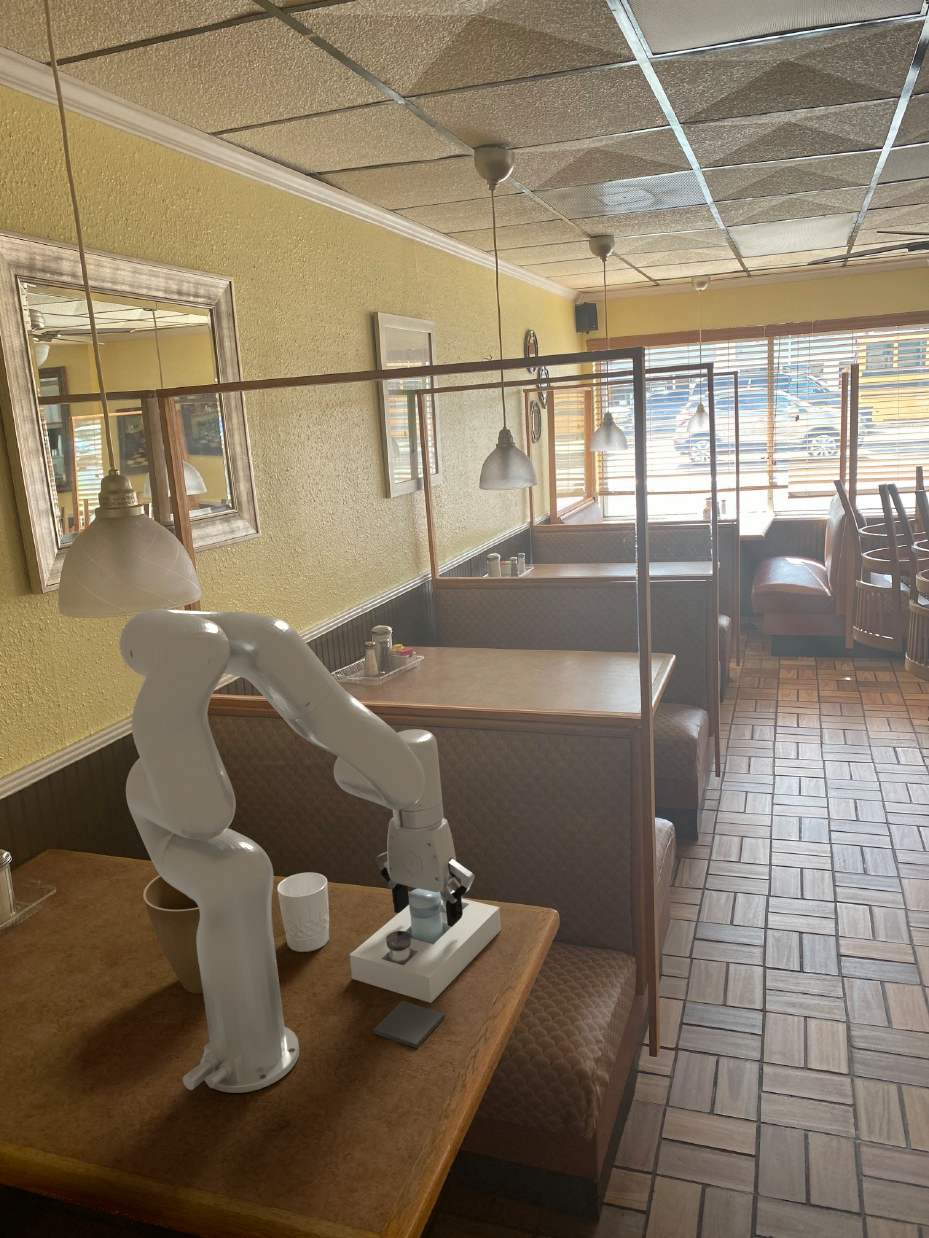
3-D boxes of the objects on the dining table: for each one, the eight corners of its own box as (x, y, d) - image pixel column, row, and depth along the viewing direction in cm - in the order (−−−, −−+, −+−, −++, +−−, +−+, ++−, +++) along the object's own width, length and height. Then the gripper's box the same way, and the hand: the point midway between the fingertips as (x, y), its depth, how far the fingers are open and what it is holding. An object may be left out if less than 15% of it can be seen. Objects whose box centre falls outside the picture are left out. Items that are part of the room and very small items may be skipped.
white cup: (338, 927, 152) (332, 871, 150) (326, 954, 144) (320, 896, 142) (291, 927, 153) (285, 872, 151) (277, 954, 145) (270, 896, 143)
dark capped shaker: (457, 932, 146) (455, 898, 145) (438, 927, 148) (435, 893, 147) (468, 921, 149) (466, 887, 148) (450, 916, 151) (447, 883, 150)
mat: (416, 1047, 121) (416, 1043, 121) (373, 1033, 124) (373, 1029, 124) (444, 1017, 127) (444, 1013, 126) (402, 1004, 130) (402, 1000, 130)
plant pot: (136, 996, 136) (120, 897, 133) (206, 944, 149) (194, 853, 146) (211, 1020, 129) (197, 917, 126) (278, 964, 142) (267, 869, 139)
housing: (431, 1002, 130) (428, 977, 129) (352, 978, 137) (349, 954, 136) (500, 929, 148) (499, 907, 147) (427, 911, 155) (426, 889, 154)
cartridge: (434, 965, 139) (429, 905, 137) (407, 957, 142) (402, 898, 140) (450, 949, 143) (446, 890, 141) (424, 941, 146) (419, 884, 144)
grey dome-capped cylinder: (404, 983, 134) (401, 946, 132) (384, 977, 135) (381, 940, 134) (418, 970, 137) (415, 934, 135) (398, 964, 138) (395, 928, 137)
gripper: (356, 813, 139) (368, 915, 143) (454, 831, 130) (464, 940, 134) (385, 794, 145) (395, 892, 149) (480, 810, 136) (488, 914, 140)
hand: (428, 915), depth 141 cm, fingers open, 9 cm apart
